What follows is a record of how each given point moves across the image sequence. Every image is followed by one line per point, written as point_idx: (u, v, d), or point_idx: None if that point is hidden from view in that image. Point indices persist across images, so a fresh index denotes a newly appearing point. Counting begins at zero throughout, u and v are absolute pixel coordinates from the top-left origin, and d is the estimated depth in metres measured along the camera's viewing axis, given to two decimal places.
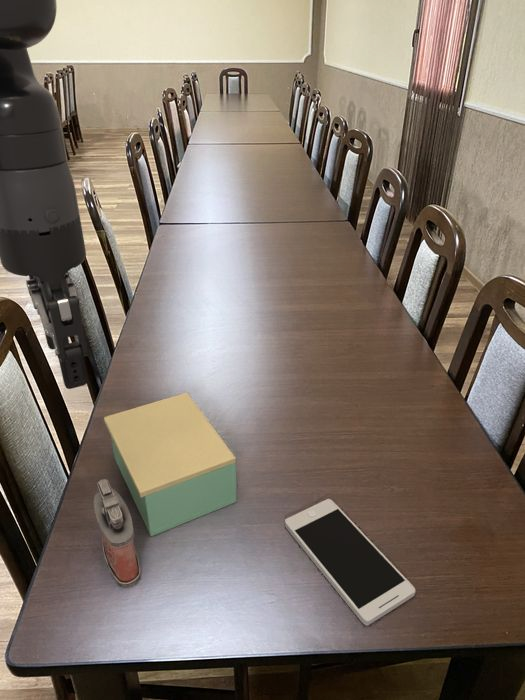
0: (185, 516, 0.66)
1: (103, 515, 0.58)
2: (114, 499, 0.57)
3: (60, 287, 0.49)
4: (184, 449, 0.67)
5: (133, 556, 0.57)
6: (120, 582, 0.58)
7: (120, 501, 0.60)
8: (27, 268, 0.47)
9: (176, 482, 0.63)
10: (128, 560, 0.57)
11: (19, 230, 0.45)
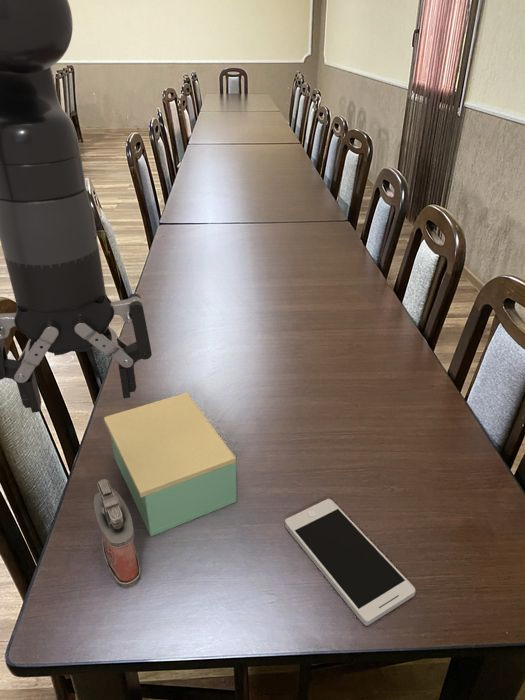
0: (185, 516, 0.66)
1: (103, 515, 0.58)
2: (114, 499, 0.57)
3: None
4: (184, 449, 0.67)
5: (133, 556, 0.57)
6: (120, 582, 0.58)
7: (120, 501, 0.60)
8: (97, 290, 0.46)
9: (176, 482, 0.63)
10: (128, 560, 0.57)
11: (91, 252, 0.44)
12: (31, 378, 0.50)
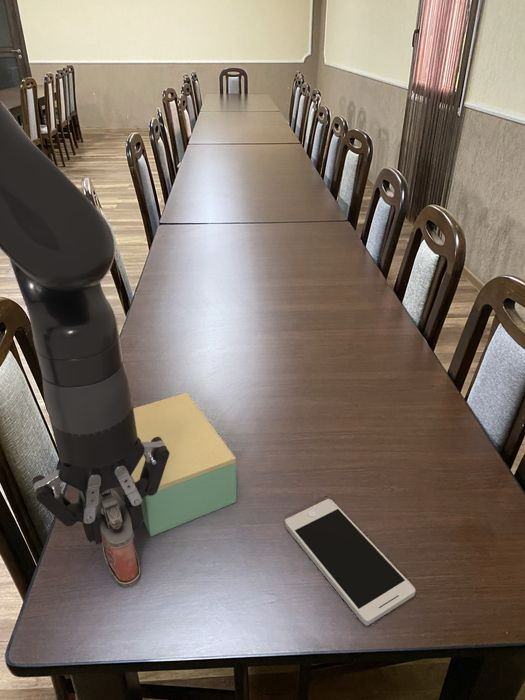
0: (185, 516, 0.66)
1: (102, 515, 0.58)
2: (113, 499, 0.56)
3: None
4: (184, 449, 0.67)
5: (133, 556, 0.57)
6: (120, 582, 0.58)
7: (119, 501, 0.60)
8: (135, 437, 0.52)
9: (176, 482, 0.63)
10: (128, 560, 0.57)
11: (130, 408, 0.50)
12: (95, 516, 0.56)
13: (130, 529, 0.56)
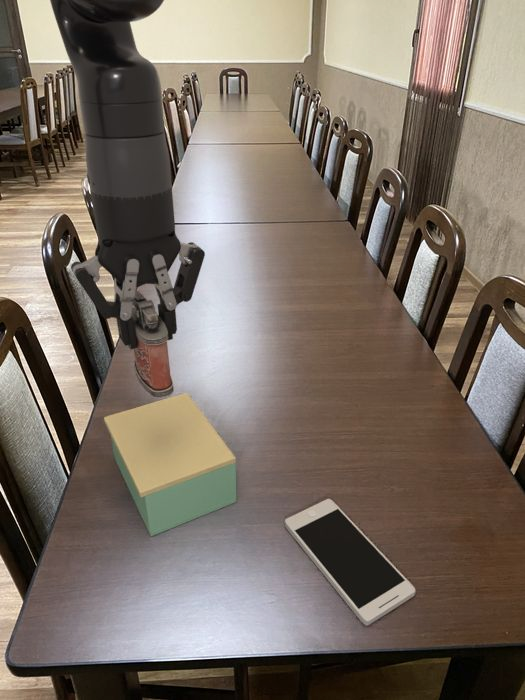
0: (185, 516, 0.66)
1: (137, 322, 0.58)
2: (148, 301, 0.57)
3: None
4: (184, 449, 0.67)
5: (167, 361, 0.58)
6: (154, 390, 0.59)
7: None
8: (173, 223, 0.52)
9: (176, 482, 0.63)
10: (163, 364, 0.57)
11: (170, 187, 0.51)
12: (131, 317, 0.56)
13: (165, 330, 0.57)
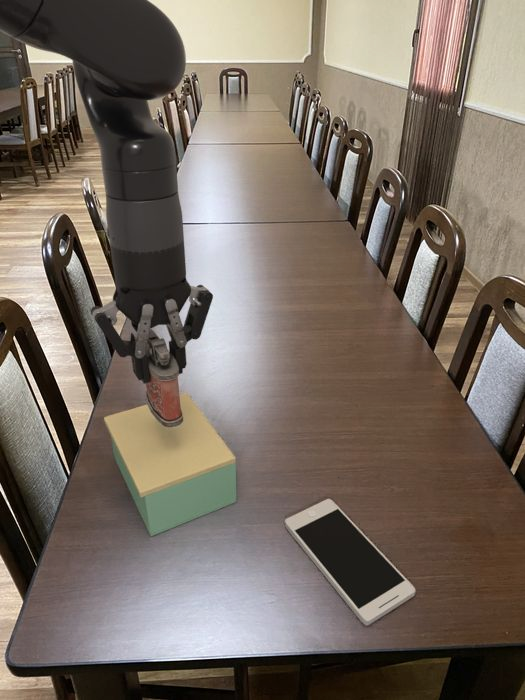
0: (185, 516, 0.66)
1: (150, 358, 0.63)
2: (161, 340, 0.61)
3: None
4: (184, 449, 0.67)
5: (178, 394, 0.62)
6: (165, 421, 0.63)
7: None
8: (185, 271, 0.57)
9: (176, 482, 0.63)
10: (174, 397, 0.62)
11: (182, 239, 0.55)
12: (144, 354, 0.61)
13: (176, 367, 0.61)
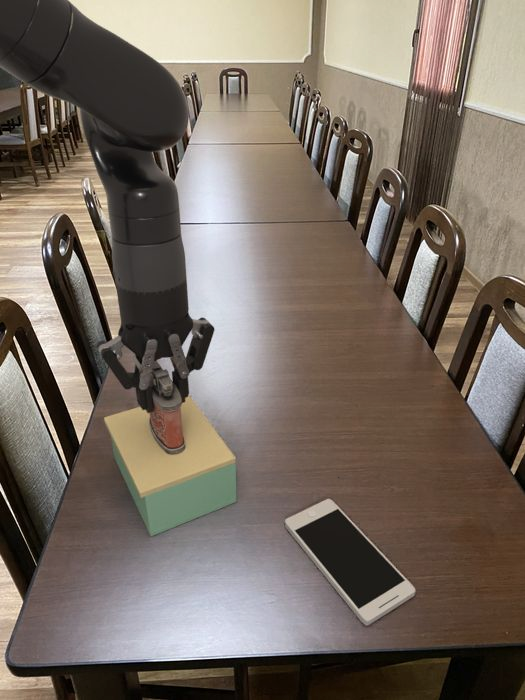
0: (185, 516, 0.66)
1: (153, 388, 0.65)
2: (164, 371, 0.64)
3: None
4: None
5: (180, 423, 0.65)
6: (168, 449, 0.66)
7: None
8: (187, 307, 0.59)
9: (176, 482, 0.63)
10: (176, 426, 0.64)
11: (185, 278, 0.57)
12: (148, 385, 0.63)
13: (179, 397, 0.64)
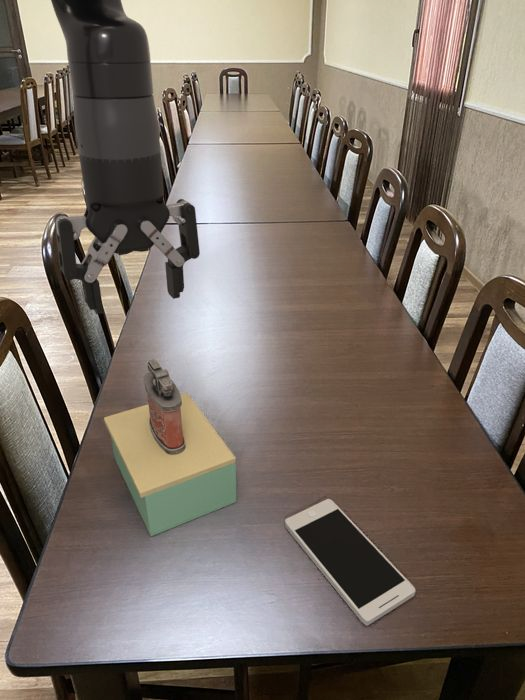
0: (185, 516, 0.66)
1: (153, 388, 0.65)
2: (164, 371, 0.64)
3: None
4: None
5: (180, 423, 0.65)
6: (168, 449, 0.66)
7: None
8: (162, 189, 0.52)
9: (176, 482, 0.63)
10: (176, 426, 0.64)
11: (159, 152, 0.51)
12: (96, 279, 0.55)
13: (179, 397, 0.64)
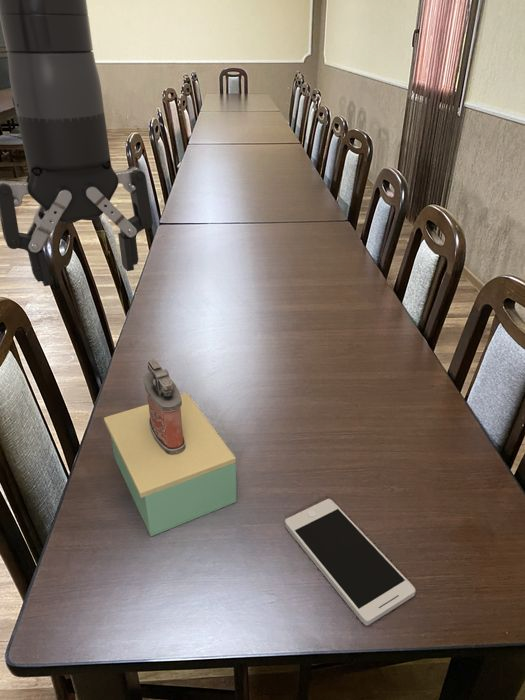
0: (185, 516, 0.66)
1: (153, 388, 0.65)
2: (164, 371, 0.64)
3: None
4: None
5: (180, 423, 0.65)
6: (168, 449, 0.66)
7: None
8: (107, 153, 0.50)
9: (176, 482, 0.63)
10: (176, 426, 0.64)
11: (101, 113, 0.48)
12: (42, 250, 0.53)
13: (179, 397, 0.64)
